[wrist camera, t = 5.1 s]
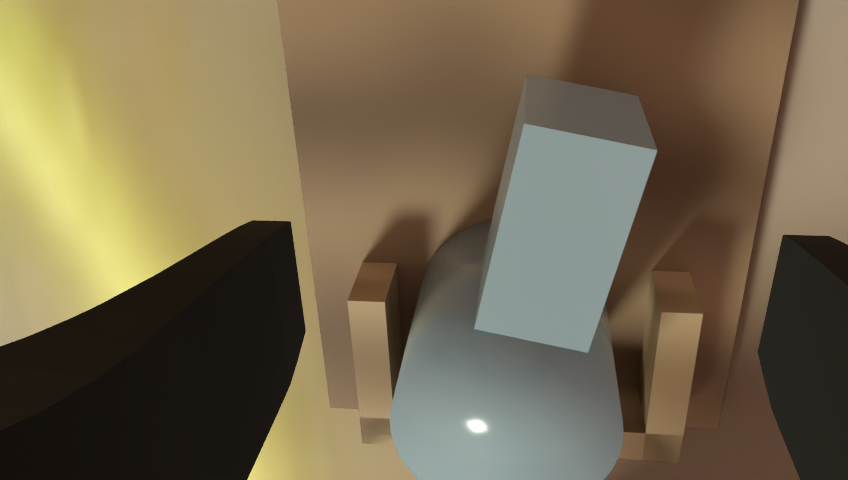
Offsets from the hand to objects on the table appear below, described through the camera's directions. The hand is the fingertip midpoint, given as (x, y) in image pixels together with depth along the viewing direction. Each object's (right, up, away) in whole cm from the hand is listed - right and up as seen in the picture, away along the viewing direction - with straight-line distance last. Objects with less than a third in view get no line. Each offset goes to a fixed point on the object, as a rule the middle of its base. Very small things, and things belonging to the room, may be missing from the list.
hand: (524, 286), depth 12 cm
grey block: (+1, +1, +9) cm, 9 cm away
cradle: (+1, +3, +9) cm, 9 cm away
